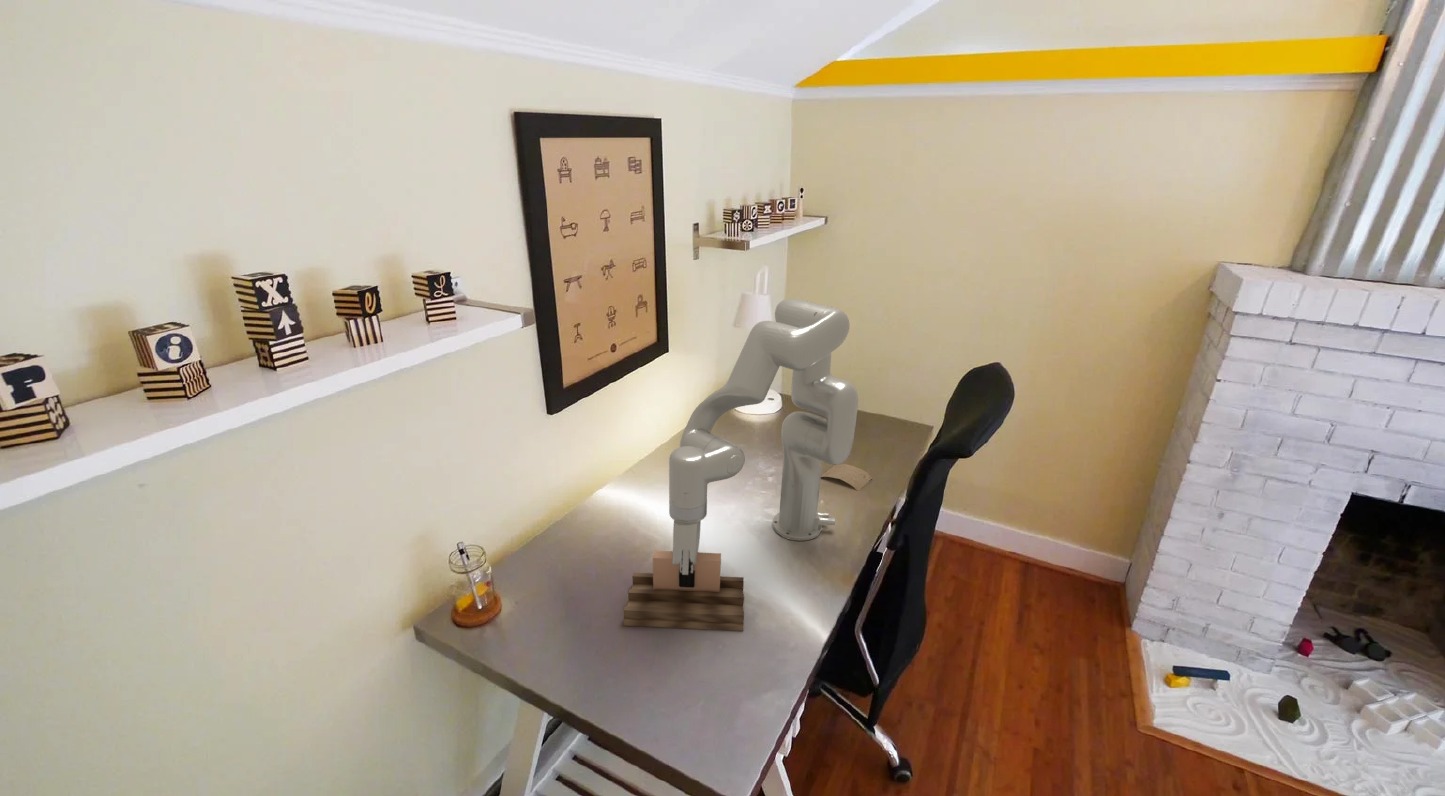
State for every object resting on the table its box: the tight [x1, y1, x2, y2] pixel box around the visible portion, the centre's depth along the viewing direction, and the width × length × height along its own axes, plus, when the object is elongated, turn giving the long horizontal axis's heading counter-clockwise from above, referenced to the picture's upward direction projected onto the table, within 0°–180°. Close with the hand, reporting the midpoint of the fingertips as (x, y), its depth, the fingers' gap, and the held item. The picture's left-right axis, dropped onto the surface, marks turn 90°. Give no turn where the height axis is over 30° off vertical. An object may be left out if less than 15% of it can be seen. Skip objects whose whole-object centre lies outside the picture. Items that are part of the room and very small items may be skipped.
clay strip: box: [652, 550, 722, 592], centre depth 124 cm, size 14×2×8 cm, turn 88°
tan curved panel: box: [821, 463, 873, 491], centre depth 177 cm, size 14×10×3 cm
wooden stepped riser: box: [623, 572, 745, 632], centre depth 123 cm, size 24×12×4 cm, turn 88°
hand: (687, 580), depth 125 cm, fingers closed on clay strip, 2 cm apart
